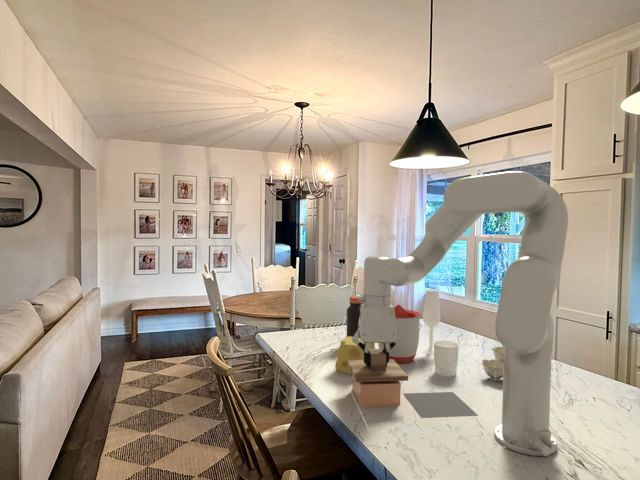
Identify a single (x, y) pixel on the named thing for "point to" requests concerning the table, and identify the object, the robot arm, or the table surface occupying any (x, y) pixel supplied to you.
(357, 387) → the salmon orange open box
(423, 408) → the mat
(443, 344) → the white cup
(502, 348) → the chinaware
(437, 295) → the champagne flute
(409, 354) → the citrus juicer
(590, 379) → the table surface
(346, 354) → the cheese
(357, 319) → the bottle
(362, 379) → the lid
